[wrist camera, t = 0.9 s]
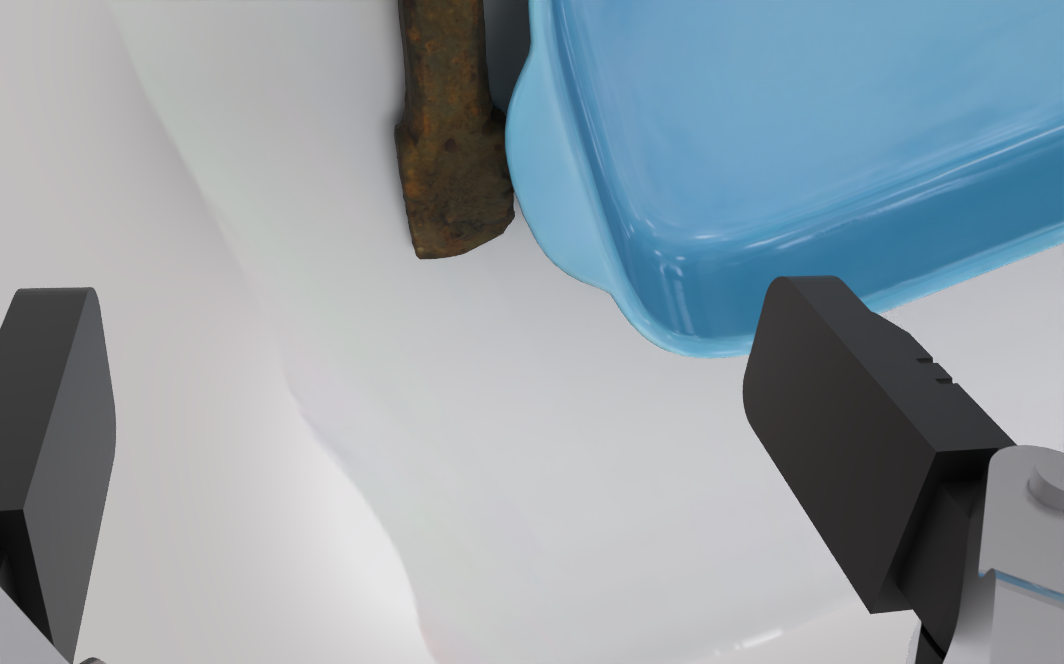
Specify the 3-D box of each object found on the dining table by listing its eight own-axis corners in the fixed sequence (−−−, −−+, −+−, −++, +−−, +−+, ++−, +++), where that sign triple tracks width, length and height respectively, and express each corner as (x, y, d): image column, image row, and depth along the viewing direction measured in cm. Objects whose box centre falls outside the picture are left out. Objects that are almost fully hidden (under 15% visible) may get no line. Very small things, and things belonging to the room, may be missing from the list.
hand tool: (355, -262, 29) (514, -267, 29) (351, -271, 32) (494, -275, 33) (410, 294, 39) (526, 282, 40) (403, 244, 43) (510, 234, 43)
